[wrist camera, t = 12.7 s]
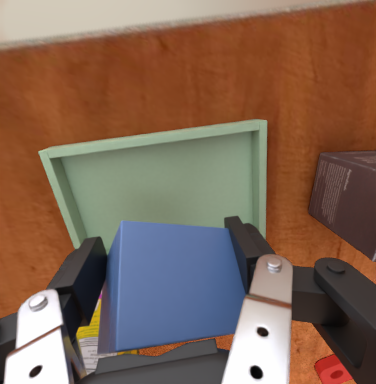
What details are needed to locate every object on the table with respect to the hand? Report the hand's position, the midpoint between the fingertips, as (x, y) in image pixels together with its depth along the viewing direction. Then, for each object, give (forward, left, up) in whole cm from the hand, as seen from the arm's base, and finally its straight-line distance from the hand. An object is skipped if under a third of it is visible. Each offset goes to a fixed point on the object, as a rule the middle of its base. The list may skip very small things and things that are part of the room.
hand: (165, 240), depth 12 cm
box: (-11, +12, -8) cm, 18 cm away
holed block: (0, 0, 0) cm, 0 cm away
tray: (0, 0, -7) cm, 7 cm away
